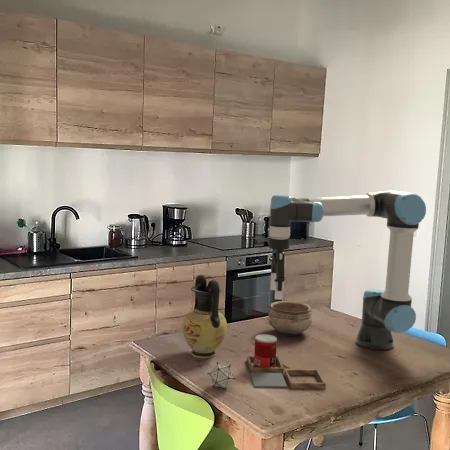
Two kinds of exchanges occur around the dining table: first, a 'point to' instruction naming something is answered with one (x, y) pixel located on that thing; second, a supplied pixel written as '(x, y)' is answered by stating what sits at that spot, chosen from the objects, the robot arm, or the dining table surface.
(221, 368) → the game die
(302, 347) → the dining table surface
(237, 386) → the dining table surface
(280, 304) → the cooking pot
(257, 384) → the slate board
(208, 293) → the amphora
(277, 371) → the frame
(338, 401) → the dining table surface
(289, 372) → the empty crate
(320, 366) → the dining table surface
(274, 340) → the canned food
